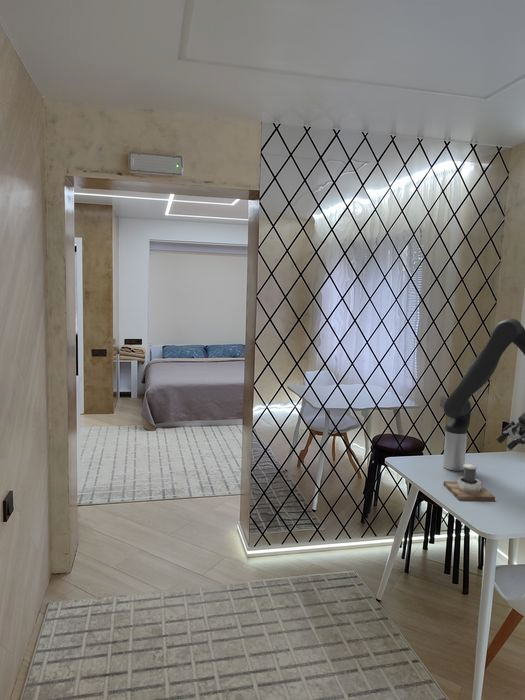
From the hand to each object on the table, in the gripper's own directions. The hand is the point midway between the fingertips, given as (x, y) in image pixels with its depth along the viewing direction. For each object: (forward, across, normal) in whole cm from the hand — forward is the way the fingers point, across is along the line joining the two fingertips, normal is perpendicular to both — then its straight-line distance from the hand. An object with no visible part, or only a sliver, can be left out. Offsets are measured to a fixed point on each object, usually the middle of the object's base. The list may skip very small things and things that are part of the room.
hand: (503, 444), depth 200 cm
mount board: (+23, +1, +5) cm, 24 cm away
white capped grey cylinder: (+22, +1, +4) cm, 22 cm away
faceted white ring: (+22, +1, +4) cm, 22 cm away
